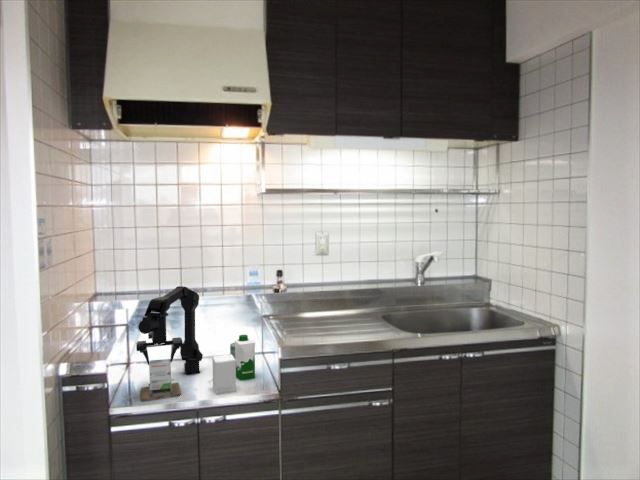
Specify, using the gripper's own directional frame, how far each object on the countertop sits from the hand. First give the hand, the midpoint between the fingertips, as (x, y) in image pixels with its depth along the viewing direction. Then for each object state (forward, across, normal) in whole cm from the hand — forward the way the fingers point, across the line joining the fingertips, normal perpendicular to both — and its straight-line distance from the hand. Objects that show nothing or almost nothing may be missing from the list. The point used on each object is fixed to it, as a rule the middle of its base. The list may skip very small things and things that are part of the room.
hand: (160, 363), depth 204 cm
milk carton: (+13, -38, -3) cm, 40 cm away
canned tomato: (+13, -39, -23) cm, 47 cm away
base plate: (+13, 0, 0) cm, 13 cm away
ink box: (+11, 0, 0) cm, 11 cm away
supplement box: (+13, -26, +9) cm, 31 cm away
